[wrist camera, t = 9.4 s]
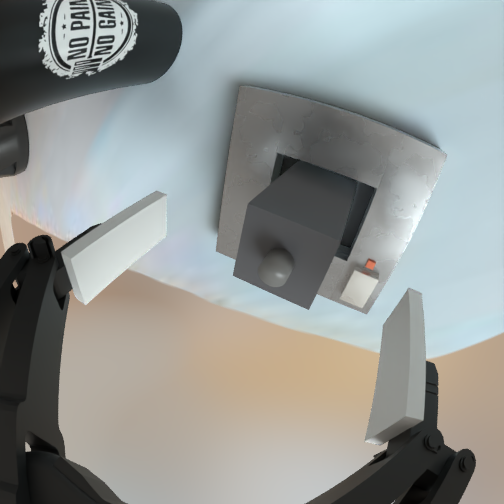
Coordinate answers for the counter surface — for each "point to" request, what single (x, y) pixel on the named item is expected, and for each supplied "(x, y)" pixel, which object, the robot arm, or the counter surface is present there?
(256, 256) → the plug
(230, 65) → the counter surface
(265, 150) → the socket
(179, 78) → the counter surface
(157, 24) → the water bottle
